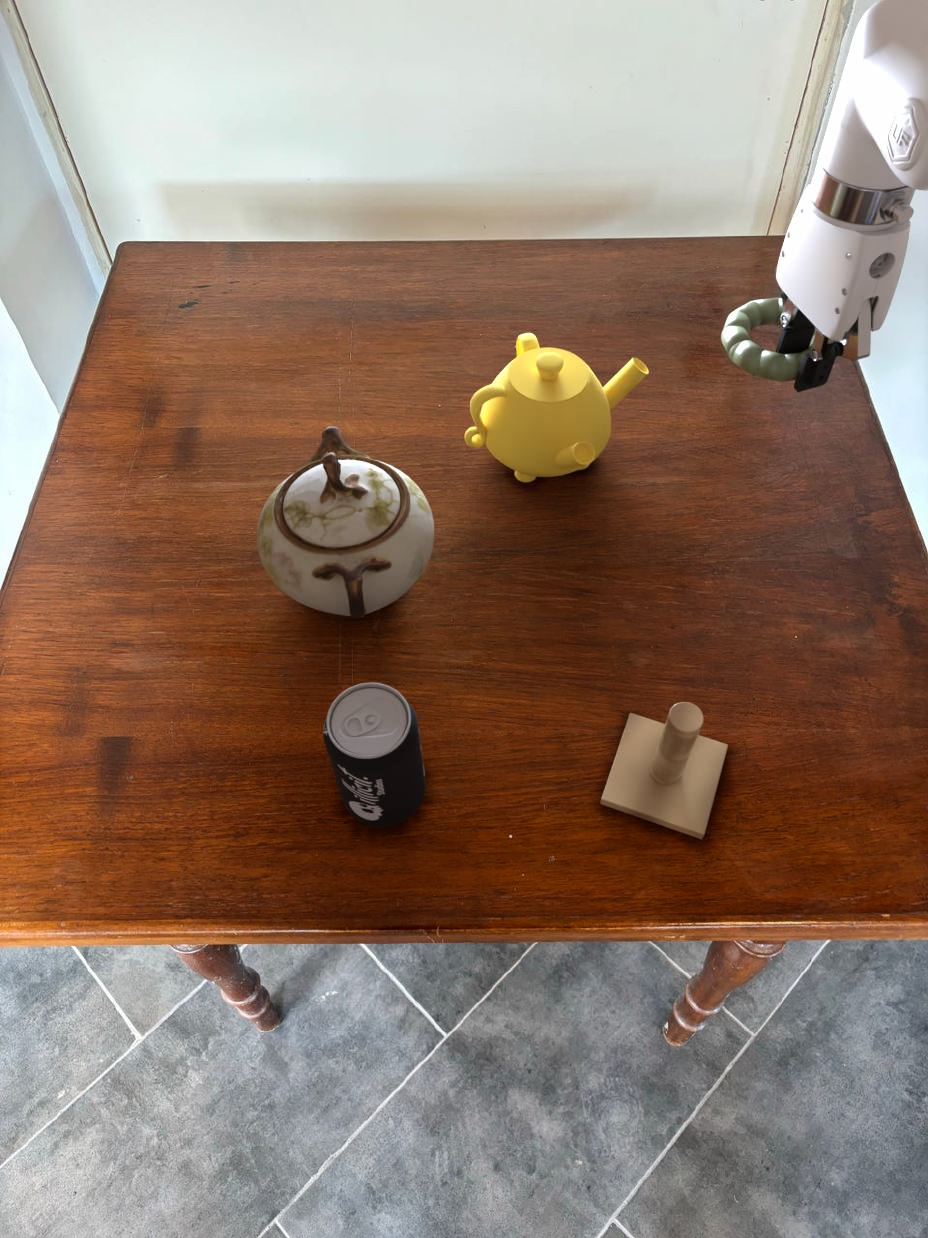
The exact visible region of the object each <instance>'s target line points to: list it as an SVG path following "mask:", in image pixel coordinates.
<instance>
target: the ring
mask: <svg viewBox="0 0 928 1238" xmlns="http://www.w3.org/2000/svg"><path fill="white" fill-rule="evenodd" d="M782 312H783V304H782V299H781V297H770V298H763V299H754V300H751V301H748V302H747V303H744V304H743V305H741V306H740V307H738V308H737V309H735V310H734V311H731V313H729V314H728V316H727V318H726V321H725V322H724V323H725V324H724V325H723V329H722V331H721V334H720V340H721V343H722V345H723V347H724V350H725V352H726V353H727V356H728V358H729V359H730V361H731V362H732V363H733V364H735V365H736V366H738V367H739V368H741V369H742V370H744V371H746V372H747V373H748V374H750V375H752V376H754V377H757V378H762V379H766V380H770V381H775V382H781V383H782V382H783V383H785V382H791V381H795V380H796V377H797V374H798V371H799V368H800V365H801V362H802V359H803V356H804V355H805V354H806V353H809V352H811V348H812V344H813V340H814V337H815V333H816V329H817V327H815V331H814V334H813V337H812V340H811V343H810V346H809V348H807V349H806V350H804V351H803V352H800V353H792V354H781V353H776V351H771V350H767V349H764V348H763V347H762V346H760V345H758V344H757V343H756V342H754V341H753V340H752V338H751V336H750V332H751V331H753V330H754V329H756V328H757V327H761V326H770V325H771V326H772V325H776V326H781V327H783V326H782V325H781V322H780V317H781V314H782ZM810 322H811V321H810ZM833 341H834V340H831V339H828V343H831V342H833Z"/></svg>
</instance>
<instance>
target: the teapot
mask: <svg viewBox="0 0 928 1238" xmlns="http://www.w3.org/2000/svg"><path fill="white" fill-rule="evenodd" d="M536 336H537V335H535V334H533V333H531V332H525V333H522V334H520V335H518V337H517V338H516V345H515V348H516V357H515V358H514V359H513V360H512V361H510V362H509V363H508V364H507V365H506V366H505V367H504V368H503V369H502V371H500V372H499V374H497V376H496V377H495V378H494V380H493V381H492V383H491V384H489V385H485V386H483V387H482V388H480V389H478V390H477V391H476V392H474V393H473V395H472V396H471V399H470V402H469V411H470V415H471V418H472V421H473V423H474V426H470V427H468V429H467V430H466V431H465V433H464V442H465V444H466V445H467V446H468V447H470V448H471V449H479V448H482V447H484V446H485V447H486V448H487V450H488V451H489V452H490V454H491V455H492V456H493V457H494V458H495V459H496V460H497V461H499V462H500V463H501V464H502V465H505V466H506V467H507V468H509V469H511V470H512V471H514V477H515V478H516V479H517V480H518V481H520V482H522V483H530V482H533V481H535V480H536V479H537V478H538V477H539V478H552V477H559V476H564V475H568V474H571V473H574V472H577V471H581V470H585V469H586V468H588V467H589V466H590V464H591V463H592V462H593V461H595V460H597V458H598V457H599V456H600V455H601V454H602V452H603V451H604V450H605V448H606V447H607V445H608V443H609V440H610V437H611V432H612V431H611V430H612V415H611V413H612V412H611V411H612V410H613V409H614V408H615V406H617V405H618V404H619V403H620V402H621V401H622V400H623V399H624V398H625V397H626V396H627V395H628V394H629V393H630V392H631V391H632V390H633V389H634V388H635V387H637V385H638V384H639V383H640V382H641V381H642V380H643V379H644V378H646V376H648V375H649V373H650V372H649V371H650V370H649V369H648V367H647V365H646V364H645V363H644V362H643V361H642V360H640V359H639V358H637V357H632V358H631V359H630V360H629V361H628V362H627V363H626V364H625V365H624V366H623V367H622V368H621V369H620V370H619V371H618V372H617V373H616V374H615V375H614V376H613V377H612V378H611V379H610V380H609V381H608V382H607V383H606V384H605V385H604V386H602V384H601V382H600V380H599V378H598V377H597V376H596V375H595V373H594V372H593V371H592V369H591V368H590V366H589V365H588V363H586V362H585V361H584V360H583V359H582V358H581V357H579V356H578V355H576V354H575V353H573V352H571V351H569V350H566V349H562V348H558V347H540V344H539V341H538V338H537V337H536Z"/></svg>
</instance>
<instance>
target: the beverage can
mask: <svg viewBox="0 0 928 1238" xmlns="http://www.w3.org/2000/svg"><path fill="white" fill-rule="evenodd" d="M322 735H323V742H324V746H325V749H326V753H327V755H328V759H329V761H330V765H331V769H332V772H333V774H334V778H335V782H336V785H337V787H338V790H339V793H340V797H341V800H342V803H343V805H344V807H345V809H346V811H347V812H348V813H349V814H350V815H351V816H352V817H353V818H354V819H355V820H356V821H358V822H359V823H362V824H364V825H367V826H370V827H375V828H387V827H392V826H396V825H399V824H401V823H403V822H405V821H406V820H408V819H409V818H411V817H412V816H413V815H414V814H415V813H416V812H417V810H418V809H419V808H420V807H421V804H422V802H423V801H424V798H425V794H426V789H427V788H426V787H427V783H426V775H425V765H424V757H423V750H422V742H421V735H420V725H419V720H418V717H417V713H416V711H415V709H414V707H413V706H412V705H411V704H410V703H409V702H408V700H407V699H405V697H404V696H403V694H402V693H400V692H399V691H398V690H397V689H395V688H394V687H392V686H390V685H387V684H384V683H381V682H363V683H358V684H356V685H355V684H354V685H353V686H350V687H348V688H347V689H345V690H343V691H342V692H341V693H339V694H338V696H336V698H335V699H334V700H333V702H332V703H331V705H330V706H329V709H328V712H327V715H326V718H325V721H324V725H323V734H322Z"/></svg>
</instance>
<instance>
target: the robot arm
mask: <svg viewBox="0 0 928 1238" xmlns="http://www.w3.org/2000/svg"><path fill="white" fill-rule="evenodd" d="M818 155H819V156H818V159H817V163H816V166H815V169H814V173H813V175H812V179H811V181H810V182H809V183H808V184H807V187H806V189H805V190H804V192H803V194H802V196H801V198H800V200H799V203H798V205H797V207H796V209H795V211H794V214H793V216H792V220H791V222H790V224H789V226H788V229H787V232H786V235H785V237H784V241H783V244H782V247H781V251H780V254H779V257H778V262H777V266H776V267H775V268H774V271H773V272H774V273H773V274H774V277H775V280H776V282H777V284H778V287H779V290H780V298H781V299H782V304H783V312H782V314H781V317H780V322H781V325H782V326H781V327H782V330H781V333H780V336H779V339H778V342H777V346H776V349H775V352H776V353H781V354H792V353H800V352H803V351H804V350H806V349H807V348H809V346H810V343H811V340H812V337H813V334H814V331H815V327H817V329H816V333H815V337H814V340H813V344H812V348H811V352H809V353H806V354H805V355H804V356H803V359H802V362H801V365H800V368H799V371H798V374H797V377H796V380H794V384H793V389H794V390H795V391H796V392H797V393H801V392H804V391H809V390H811V389H814V388H818V387H821V386H824V385H826V384H827V383H828V381H829V378H830V375H831V372H832V370H833V367H834V365H835V363H836V359H837V357H842V358H843V359H847V360H850V361H854V362H855V361H860V360H863V359H867V358H869V357H870V355H871V344H872V343H871V342H872V341H871V340H872V338H871V337H872V332H876V331H879V330H880V329H881V328H882V326H883V324H884V322H885V320H886V318H887V315H888V313H889V311H890V307H891V305H892V302H893V299H894V296H895V293H896V290H897V287H898V284H899V281H900V280H899V279H900V277H901V273H902V270H903V267H904V263H905V258H906V254H907V249H908V243H909V239H910V231H911V230H910V229H911V221H910V220H911V219H912V217H913V215H914V212H915V210H914V208H913V207H912V206H911V202H912V200H913V197H914V195H915V193H916V191H917V190H918V191H923V192H926V191H927V192H928V0H878V1H876V2H875V3H873V5H871V6H870V7H869V8H868V9H867V10H866V11H865V12H864V13H863V15H862V17H861V18H860V20H859V23H858V24H857V26H856V28H855V32H854V35H853V38H852V41H851V45H850V49H849V53H848V55H847V58H846V63H845V65H844V70H843V71H842V76H841V80H840V83H839V87H838V90H837V93H836V97H835V100H834V104H833V106H832V110H831V114H830V117H829V120H828V124H827V128H826V131H825V135H824V138H823V141H822V144H821V148H820V152H819V154H818ZM810 321H811V322H810ZM828 339H831V340H834V341H833V342H831V343H828Z"/></svg>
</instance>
